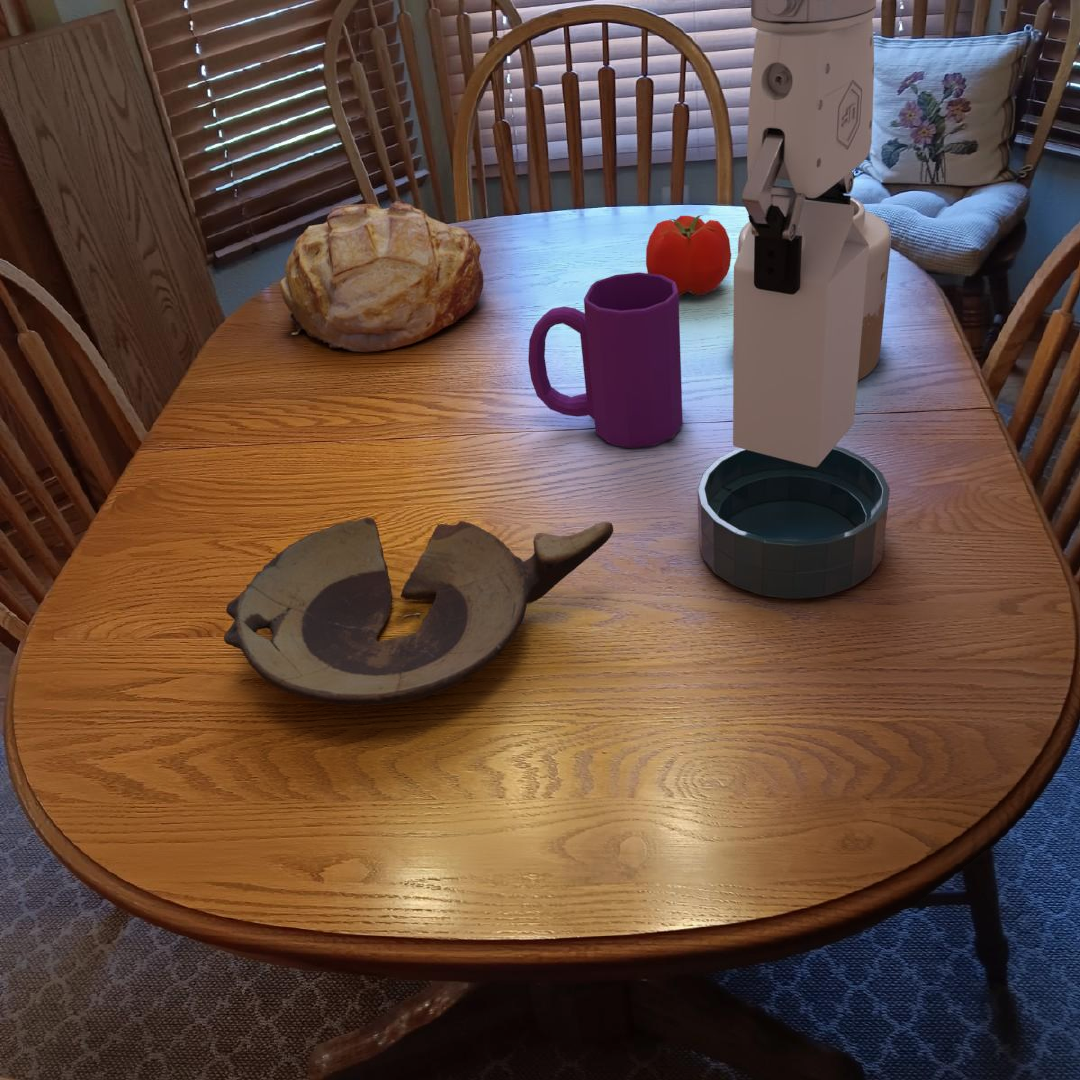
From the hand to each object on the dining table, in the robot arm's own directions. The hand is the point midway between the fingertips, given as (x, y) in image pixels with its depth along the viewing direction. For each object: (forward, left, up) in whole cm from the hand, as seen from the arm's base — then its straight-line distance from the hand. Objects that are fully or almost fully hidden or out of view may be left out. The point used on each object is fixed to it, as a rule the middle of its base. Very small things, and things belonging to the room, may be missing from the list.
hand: (801, 266), depth 75 cm
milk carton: (0, 0, -14) cm, 14 cm away
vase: (+13, -32, -25) cm, 43 cm away
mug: (+25, -10, -25) cm, 37 cm away
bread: (+68, -22, -25) cm, 76 cm away
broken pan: (+20, +25, -25) cm, 41 cm away
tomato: (+34, -43, -25) cm, 60 cm away
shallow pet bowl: (0, 0, -25) cm, 25 cm away
